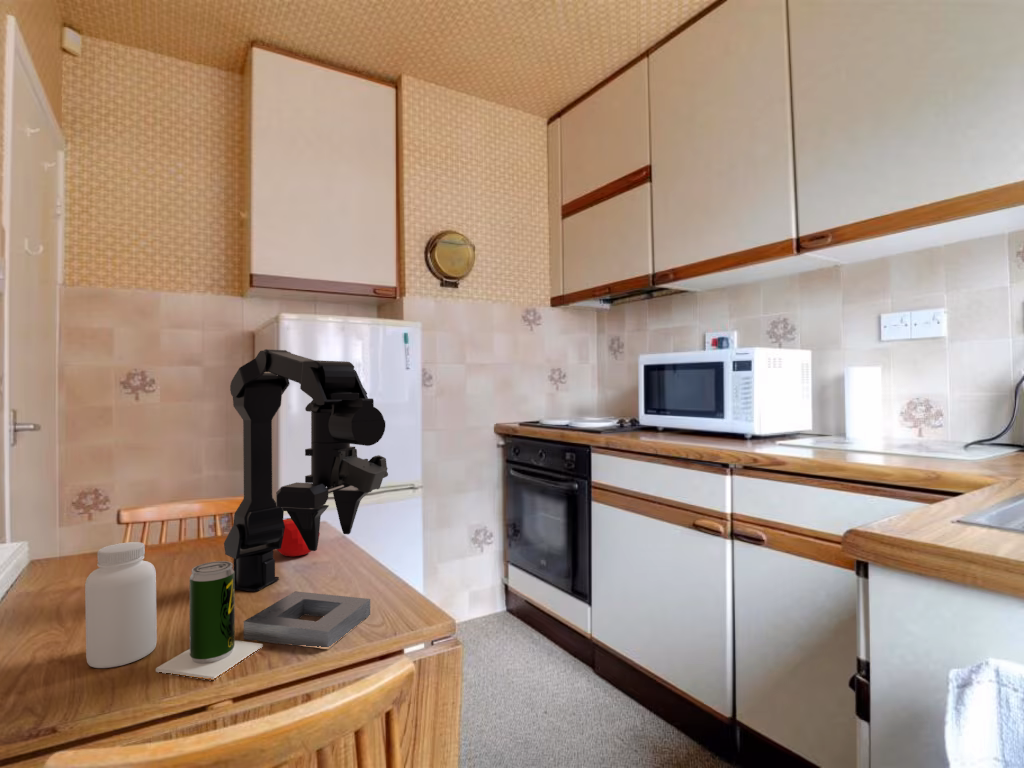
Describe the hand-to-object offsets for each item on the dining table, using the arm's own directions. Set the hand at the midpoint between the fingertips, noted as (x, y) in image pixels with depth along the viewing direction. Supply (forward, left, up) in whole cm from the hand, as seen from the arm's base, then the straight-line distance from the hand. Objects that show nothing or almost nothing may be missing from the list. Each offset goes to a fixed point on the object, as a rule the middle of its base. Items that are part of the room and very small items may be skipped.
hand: (330, 541), depth 84 cm
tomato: (-28, +30, -13) cm, 43 cm away
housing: (-3, -1, -13) cm, 13 cm away
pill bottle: (-23, -15, -13) cm, 30 cm away
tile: (-10, -13, -13) cm, 21 cm away
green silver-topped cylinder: (-10, -13, -13) cm, 21 cm away
